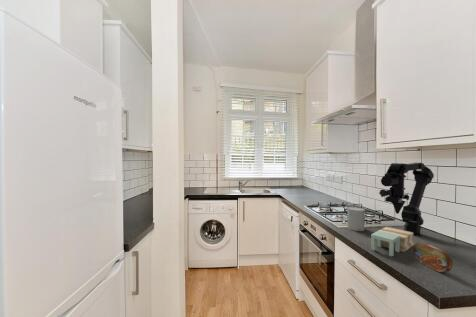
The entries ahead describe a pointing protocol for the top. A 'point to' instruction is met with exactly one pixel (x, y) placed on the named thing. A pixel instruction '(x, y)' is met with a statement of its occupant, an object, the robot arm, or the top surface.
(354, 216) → the grey round cylinder
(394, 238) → the green notched block
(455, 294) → the top surface
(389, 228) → the beige ridged block
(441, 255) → the tin
